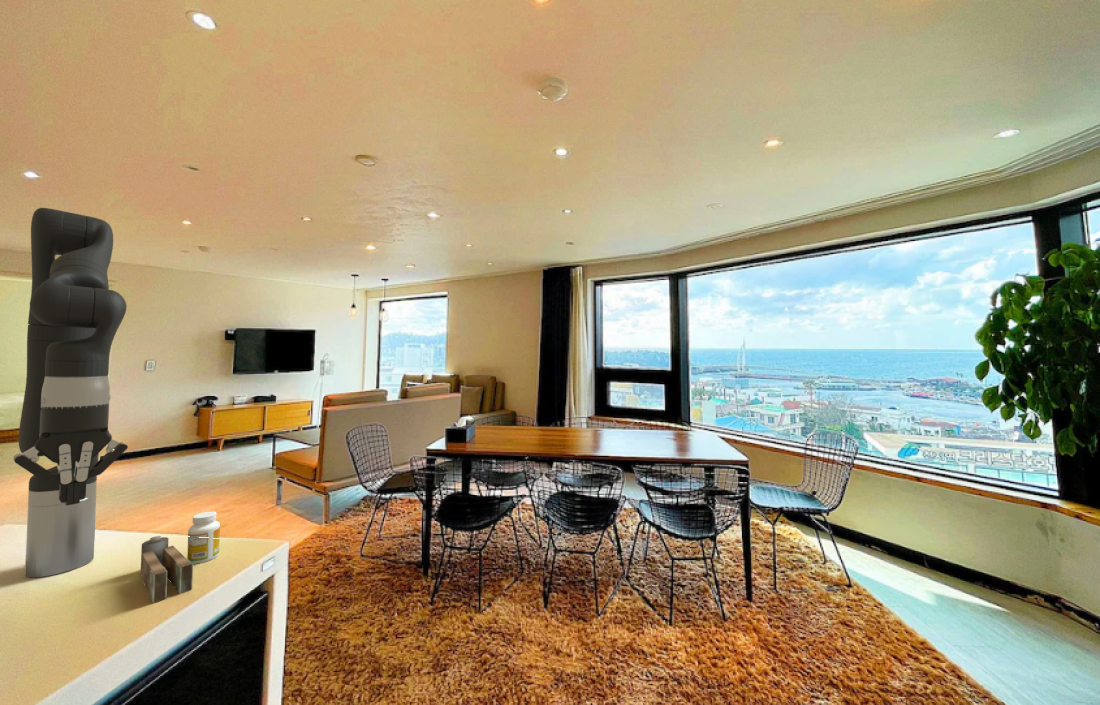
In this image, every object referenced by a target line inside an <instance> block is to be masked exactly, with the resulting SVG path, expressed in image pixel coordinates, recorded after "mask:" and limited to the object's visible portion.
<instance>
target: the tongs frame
mask: <svg viewBox="0 0 1100 705" xmlns="http://www.w3.org/2000/svg"><path fill="white" fill-rule="evenodd" d="M140 549H141V555H140V558H141V559H140V571H141V570H142V553H146V552H150V551H153V552H154V554H155V555H156V557H157V558H158V560H159V561H160V563H161V564H162V566H163V567H165V569H166V570H167V580H168V579H169V580H170V581H171V582H170V581H169V580H168V581H169V582H170V584H171V585H173V587H174V589H175V590H176V592H178V593H179V594H180V595H181V594H184V593H187V592H189V591H192V590H193V582H194V581H193V580H194V579H193V577H194V574H193V572H194V564H193V563H191V562H190V561H189V560H187V557H186V556H184V555H183V553H181V551H180V550H178V549H177V548H176V546H174V545H170V546H169V538H168V537H162V536H160V535H156V536H155V535H154V536H153V537H151V538H149V539H148V540H146V541H144V542H142V543H141V548H140Z"/></svg>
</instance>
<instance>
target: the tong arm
mask: <svg viewBox="0 0 1100 705" xmlns="http://www.w3.org/2000/svg"><path fill="white" fill-rule="evenodd" d="M140 576H141V578H140V579H141V581H142V583H143V586H144V587H145V589H146V591H147V592H148V594H149V598H150V599H151V602H152V603H157V602H160V601H163V600H166V599H167V591H168V590H167V589H168V578H167V570H166V569H165V567H163V566H162V564H161V563H160V561H159V560H158V558H157V557H156V555H155V554H154V552H153V551H150V552H146V553H142V570H141V569H140Z"/></svg>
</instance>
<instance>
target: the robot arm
mask: <svg viewBox="0 0 1100 705" xmlns="http://www.w3.org/2000/svg"><path fill="white" fill-rule="evenodd" d="M30 222H31V223H30V224H31V225H30V245H31V246H30V251H31V253H30V254H31V293H30V301H29V310H28V321H27V334H26V335H27V336H26V339H27V340H26V378H25V389H24V395H23V402H22V408H21V414H20V421H19V431H18V447H19V451H20V453H18V454H17V453H16V454H15V455H14V456H13V461H14V463H15V464H17V465H18V466H20V467H21V468H23V469H24V470H25V471H27V472H29V473H30V474H31V475H32V476H31V477H30V478H29V481H28V492H27V493H28V494H27V496H28V498H27V517H26V518H27V521H26V543H25V544H26V545H25V547H26V548H25V550H26V551H25V565H24V567H25V568H24V570H25V571H24V576H26V577H27V578H43V577H48V576H52V575H57V574H63V573H65V572H69V571H73V570H75V569H78V568H80V567H82V566H85V565H87V564H89V563H90V562H92V561H93V560H94V558H95V557H94V556H95V540H96V539H95V538H96V537H95V535H96V512H97V511H96V510H97V509H96V508H97V507H96V506H97V485H98V484H97V482H98V481H97V480H98V479H97V478H98V476H100V475H102V474H103V473H104V472H105V471H106V470H107V469H108V468H109V467H110V466H111V465H112V464H113V463H114V462H115V461H116V460H118V458H119V457H121V455H122V454H123V453H124V452H125V451H127V450H128V449H129V447H128V445H127V444H126V443H124V442H119V441H118V440H115V439H113V435H112V434H111V433H110V431H109V419H110V418H109V415H110V400H111V391H110V390H111V388H110V382H109V381H110V380H109V373H110V372H109V370H110V369H109V367H110V352H111V349H112V346H113V342H114V339H115V335H116V334H117V332H118V329H119V327H120V325H121V324H122V322H123V319H124V318H125V315H126V313H127V301H126V300H125V298H124V297H123V295H121V294H120V293H119V292H117V291H115V290H112V289H110V287H109V286H110V285H109V279H108V269H109V266H110V263H111V259H112V253H113V249H114V231H113V229H112V227H111V225H110V223H109V222H107V221H106V220H103V219H102V218H101V219H100V218H97V217H94V216H89V215H85V214H81V213H74V212H69V211H63V210H59V209H54V208H48V207H39V208H37V209H36V210H35V211H34V212H33V214H32V218H31V221H30ZM56 256H58V257H57V258H56ZM106 446H107V447H106ZM105 447H106V448H105ZM104 448H105V451H106V453H105V454H104V455H103V456H102V457H101V458H100V459H99V455H100V452H102V450H104ZM40 457H46V459H49V461H51V462H53V463H54V464H56V465H55V466H53V467H50V468H47V469H46V468H44V467H43V466H42V465H41V464H39V463H37V462H38V461H40Z"/></svg>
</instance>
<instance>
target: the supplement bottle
mask: <svg viewBox="0 0 1100 705" xmlns="http://www.w3.org/2000/svg"><path fill="white" fill-rule="evenodd" d="M216 519H217V512H216V511H204V512H198V513H196V514H194V515H193V516H192V525H191V526H190V527H189V528H188V530H187V531H188V532H187V556H186V559H187V560H189V561H190V562H191V563H192V564H193V563H195V564H200V563H206V562H208V561H212V560H213V558H214V559H215V558H217V557H218V556H219V555H220V540H221V538H220V537H221V535H220V534H221V532H220V531H221V524H220V523H221V522H219V521H218V520H216ZM188 536H190V537H188ZM199 537H209V538H199ZM213 538H220V539H213Z"/></svg>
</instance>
